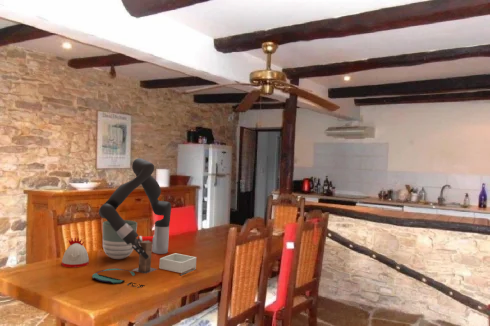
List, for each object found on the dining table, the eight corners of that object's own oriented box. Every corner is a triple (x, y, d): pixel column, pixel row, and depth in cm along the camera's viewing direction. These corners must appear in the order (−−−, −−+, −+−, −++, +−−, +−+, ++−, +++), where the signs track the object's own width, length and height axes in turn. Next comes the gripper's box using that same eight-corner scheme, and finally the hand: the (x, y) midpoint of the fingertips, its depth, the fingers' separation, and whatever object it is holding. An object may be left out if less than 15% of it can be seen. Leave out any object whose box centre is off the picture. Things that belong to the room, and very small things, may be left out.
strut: (138, 269, 217) (140, 242, 217) (143, 267, 221) (145, 240, 221) (145, 271, 215) (146, 243, 215) (150, 269, 219) (152, 241, 219)
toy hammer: (162, 251, 267) (163, 241, 267) (145, 252, 262) (145, 242, 261) (154, 243, 287) (154, 234, 287) (137, 244, 282) (137, 235, 282)
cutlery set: (111, 270, 219) (111, 266, 219) (158, 280, 208) (158, 276, 208) (84, 280, 200) (84, 276, 200) (135, 292, 190) (135, 287, 190)
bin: (159, 271, 222) (159, 258, 222) (174, 265, 235) (175, 253, 235) (181, 275, 216) (182, 262, 216) (195, 269, 229) (196, 257, 229)
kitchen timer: (64, 260, 231) (65, 234, 230) (90, 260, 234) (91, 234, 234) (59, 267, 217) (61, 240, 217) (86, 267, 221) (88, 240, 220)
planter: (125, 252, 256) (127, 218, 256) (141, 259, 242) (143, 224, 242) (94, 256, 242) (96, 221, 242) (110, 264, 228) (112, 226, 228)
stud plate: (130, 272, 216) (131, 262, 215) (142, 268, 225) (143, 258, 224) (145, 276, 211) (146, 266, 211) (157, 271, 220) (158, 262, 220)
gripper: (130, 231, 210) (152, 255, 211) (134, 226, 224) (155, 248, 225) (119, 241, 209) (141, 264, 211) (124, 235, 223) (145, 257, 225)
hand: (148, 256), depth 218 cm, fingers closed on strut, 6 cm apart
